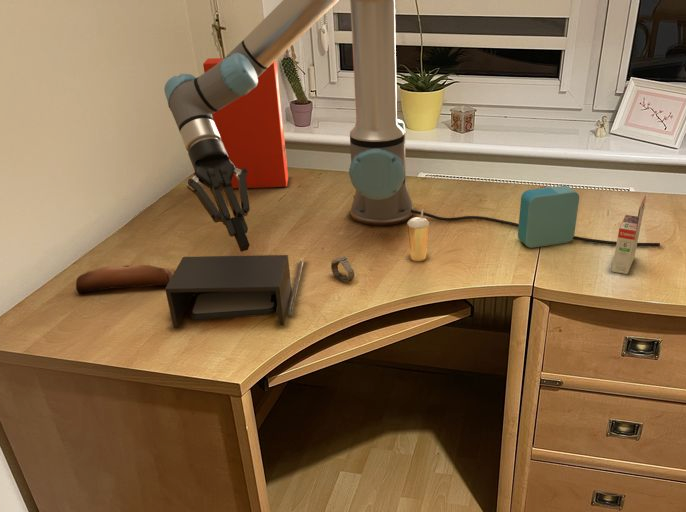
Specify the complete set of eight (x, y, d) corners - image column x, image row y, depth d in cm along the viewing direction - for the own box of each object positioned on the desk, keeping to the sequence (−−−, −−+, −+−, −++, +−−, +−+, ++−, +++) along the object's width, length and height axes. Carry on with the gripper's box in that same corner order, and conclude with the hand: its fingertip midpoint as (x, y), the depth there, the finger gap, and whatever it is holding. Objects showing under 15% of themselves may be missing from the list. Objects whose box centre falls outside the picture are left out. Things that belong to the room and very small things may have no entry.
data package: (564, 234, 163) (570, 184, 156) (573, 242, 159) (580, 191, 153) (516, 241, 160) (521, 190, 153) (525, 249, 156) (530, 197, 150)
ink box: (610, 272, 146) (621, 205, 138) (617, 256, 152) (628, 192, 145) (628, 275, 145) (641, 208, 137) (634, 259, 151) (647, 194, 143)
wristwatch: (340, 272, 148) (339, 250, 145) (358, 282, 144) (357, 259, 141) (327, 277, 146) (325, 255, 143) (345, 287, 142) (343, 265, 139)
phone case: (190, 322, 131) (276, 316, 132) (188, 315, 130) (275, 309, 131) (197, 300, 139) (279, 294, 140) (196, 292, 138) (278, 287, 139)
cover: (291, 291, 140) (287, 254, 136) (283, 325, 129) (279, 286, 125) (190, 293, 140) (183, 256, 136) (173, 327, 129) (165, 288, 124)
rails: (303, 263, 151) (303, 260, 151) (291, 317, 132) (291, 314, 132) (199, 265, 151) (199, 262, 151) (172, 319, 132) (171, 316, 131)
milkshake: (432, 253, 155) (433, 210, 149) (424, 263, 151) (425, 219, 145) (412, 250, 156) (412, 208, 151) (404, 260, 152) (404, 217, 146)
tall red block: (226, 179, 197) (208, 57, 180) (288, 177, 198) (276, 56, 181) (222, 189, 190) (202, 64, 173) (286, 187, 191) (273, 62, 174)
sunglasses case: (175, 268, 149) (168, 250, 143) (175, 296, 146) (168, 279, 140) (86, 275, 146) (75, 257, 140) (84, 304, 143) (73, 287, 137)
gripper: (232, 150, 153) (271, 248, 150) (172, 161, 147) (212, 263, 144) (237, 131, 146) (278, 233, 143) (175, 142, 140) (216, 248, 137)
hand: (245, 248), depth 143 cm, fingers closed
